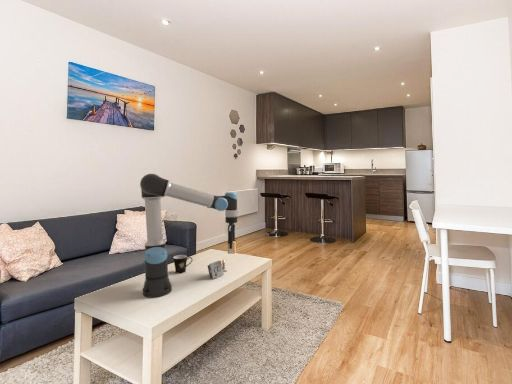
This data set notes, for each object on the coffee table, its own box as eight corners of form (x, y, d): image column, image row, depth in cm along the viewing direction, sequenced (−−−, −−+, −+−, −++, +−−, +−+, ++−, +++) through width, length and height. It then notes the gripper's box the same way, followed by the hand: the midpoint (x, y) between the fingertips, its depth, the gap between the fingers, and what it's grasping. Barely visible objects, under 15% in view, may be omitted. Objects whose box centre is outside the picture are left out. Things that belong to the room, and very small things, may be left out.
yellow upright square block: (234, 253, 181) (234, 242, 180) (227, 253, 181) (227, 242, 181) (235, 251, 185) (235, 241, 185) (229, 251, 185) (228, 241, 185)
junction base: (220, 272, 185) (220, 270, 185) (219, 270, 189) (219, 267, 189) (227, 271, 186) (227, 269, 186) (226, 269, 190) (226, 267, 190)
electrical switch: (213, 279, 173) (211, 264, 173) (207, 278, 176) (206, 263, 176) (224, 275, 180) (222, 260, 180) (218, 274, 183) (217, 259, 183)
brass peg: (222, 269, 186) (222, 260, 186) (222, 268, 188) (222, 260, 188) (225, 268, 187) (224, 260, 187) (224, 268, 188) (224, 260, 188)
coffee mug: (172, 274, 183) (171, 258, 182) (175, 269, 192) (175, 255, 191) (190, 273, 183) (190, 258, 183) (193, 269, 192) (192, 254, 191)
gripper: (235, 218, 173) (235, 256, 174) (239, 214, 190) (239, 248, 191) (222, 218, 173) (223, 256, 175) (228, 214, 191) (228, 248, 192)
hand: (231, 252), depth 183 cm, fingers closed on yellow upright square block, 4 cm apart
